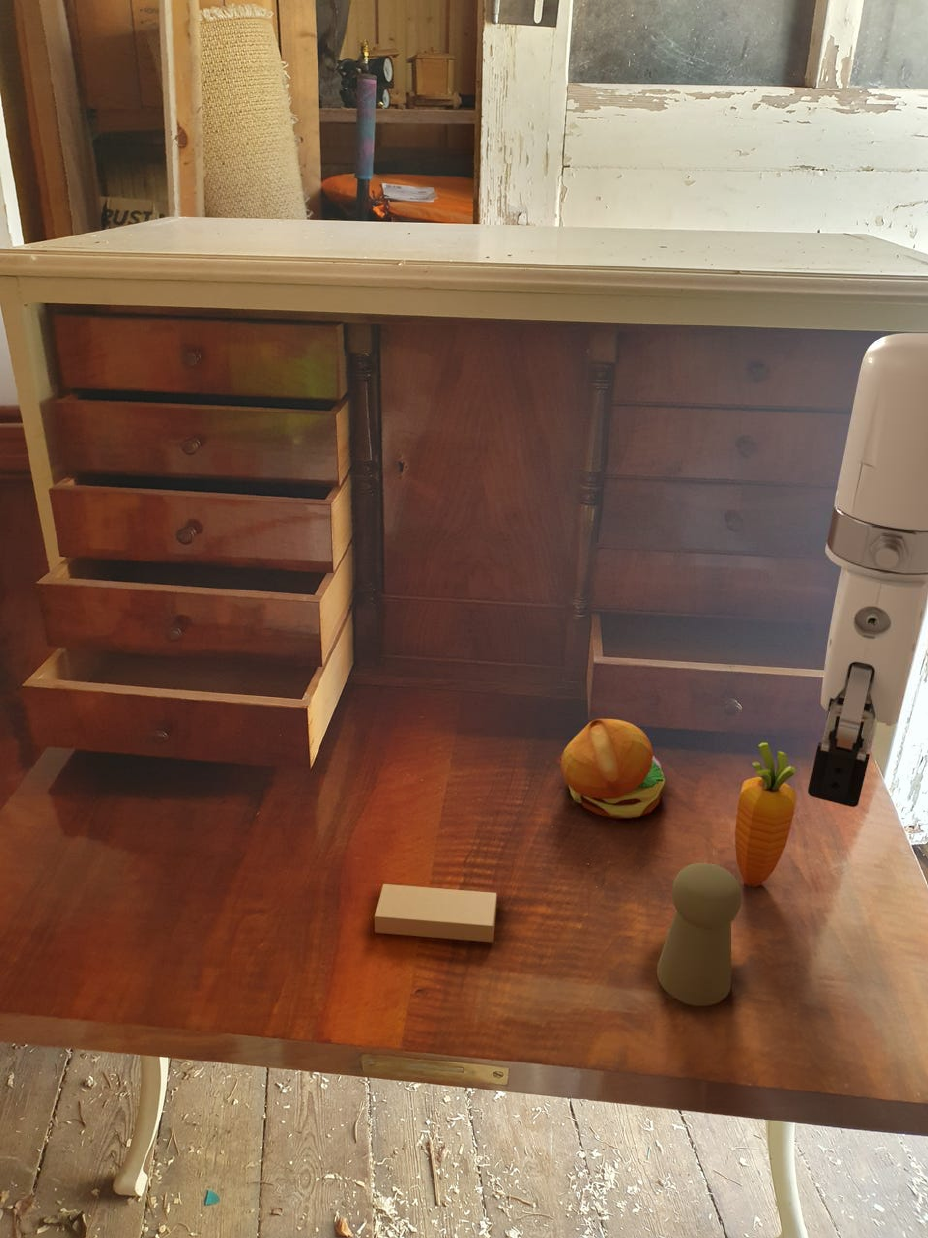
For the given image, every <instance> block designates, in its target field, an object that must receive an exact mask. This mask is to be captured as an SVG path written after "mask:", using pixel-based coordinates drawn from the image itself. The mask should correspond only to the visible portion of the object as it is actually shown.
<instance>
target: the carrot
mask: <svg viewBox="0 0 928 1238" xmlns="http://www.w3.org/2000/svg"><path fill="white" fill-rule="evenodd" d="M757 746H758V749H759V752H760V755H761V758H762V760H763V763H764V767H765V769H764V768H763V767H762V765H761V764H760V762H757V761H754V762H752V766H753V768H754V769H755V771H756V775H757V776H755V777H752V778H748V779H746V780H744V781H743V783H742V785H741V788H740V789H741V790H740V794H739V797H738V804H737V812H736V819H735V828H734V842H735V843H734V846H735V858H736V859H735V860H736V864H737V867H738V870H739V873H740V875H741V877H742V880H743V882H744V883H745V884H746V885H747V886H748V887H752V888H756V887H760V886H761V885H762V884H763V883H764V882H765V881H767V880H768V879H769V877H770V876H771V875H772V873H773V872H774V871H775V870H776V867H777V865H778V864H779V861H780V860H781V858H782V855H783V853H784V850H785V848H786V845H787V842H788V838H789V835H790V830H791V827H792V822H793V819H794V814H795V809H796V808H795V807H796V801H797V792H796V791H795V790H794V789H793V788H792V787H791V786H789V785H788V784H787V783H786V782H787V781H788V780H789V779H790V778H791V777H793V776H794V775H795V774H796V772H797V769H796V768H795V767H794V766H792V765H789V766H787V764H788V755H787V754H786V753H785V752H784V751H777V757H776V758H777V759H776V760H777V761H776V762H777V763H776V768H775V763H774V758H773V755H772V751H771V749H770V746H769V744H768V742H761V743H759V744H758V745H757ZM775 769H776V771H775Z"/></svg>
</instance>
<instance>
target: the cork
mask: <svg viewBox="0 0 928 1238" xmlns="http://www.w3.org/2000/svg"><path fill="white" fill-rule="evenodd" d="M742 896H743V894H742V889H741V886H740V884H739V882H738V880H737V878H736V877H735V876H734V875H733V874H732V873H731V872H730V871H729V870H728V869H726V868H725V867H722V866H720V865H718V864H716V863H715V864H714V863H710V862H694V863H691V864H689V865H687V866H685V867H683V868H682V869H681V870H680V871H679V872H678V873H677V875H676V876H675V877H674V879H673V884H672V889H671V898H672V902H673V906H674V908H675V911H674V914H673V917H672V920H671V922H670V926H669V929H668V932H667V936H666V939H665V941H664V945H663V948H662V951H661V954H660V958H659V960H658V963H657V969H656V975H657V979H658V982H659V984H660V985H661V987H662V988H663V990H664V991H665V992H666V993H667V994H669V995H670V996H671V997H672V998H674V999H676V1000H677V1001H680V1002H682V1003H684V1004H688V1005H692V1006H696V1007H697V1006H698V1007H700V1006H701V1007H702V1006H703V1007H705V1006H712V1005H715V1004H719V1003H720V1002H721V1001H723V1000H724V999H725V998H727V996H728V994H729V993H730V992H731V989H732V988H731V987H732V922H733V921H734V920H735V918H736V917H737V915H738V914H739V912H740V910H741V906H742V901H743V900H742V898H743V897H742Z"/></svg>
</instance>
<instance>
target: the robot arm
mask: <svg viewBox="0 0 928 1238" xmlns="http://www.w3.org/2000/svg"><path fill="white" fill-rule="evenodd" d="M842 456H843V457H842V462H841V467H840V472H839V477H838V481H837V489H836V492H835V498H834V503H833V508H832V513H831V518H830V523H829V527H828V534H827V538H826V543H825V544H826V545H825V548H824V549H825V550H824V551H825V552H824V553H825V555H826V556H827V558H828V559H829V560H830V561H831V562H832V563H834V564H835V565H837V566H839V567H840V573H839V579H838V583H837V584H838V585H837V589H836V593H835V600H834V604H833V611H832V614H831V620H830V626H829V632H828V638H827V645H826V653H825V660H824V667H823V674H822V675H823V677H822V683H821V684H822V685H821V694H820V705H821V707H822V709H824V711H825V712H827V716H826V717H827V718H826V724H825V728H824V733H823V737H822V741H821V742H820V741H818V743H817V745H816V746H817V747H816V750H815V751H816V752H815V756H814V760H813V765H812V769H811V774H810V780H809V783H808V784H809V785H808V790H807V793H808V795H809V796H810V797H811V798H815V799H816V798H817V799H820V800H824V801H827V802H830V803H831V802H832V803H835V804H838V805H842V806H846V807H850V808H856V807H857V806H858V805H859V804H860V803H859V802H860V798H861V795H862V791H863V786H864V783H865V779H866V778H865V777H866V774H867V770H868V766H869V761H870V757H871V753H868V749H869V743H870V739H871V735H872V731H873V726H874V723H875V720H876V721H877V723H882V724H885V725H886V726H887V727H892V726H894V725H895V724H897V723H898V722H899V718H900V715H901V709H902V706H903V701H904V696H905V692H906V688H907V683H908V679H909V675H910V671H911V668H912V663H913V660H914V655H915V652H916V647H917V644H918V639H919V637H920V636H919V635H920V632H921V626H922V622H923V618H924V613H925V610H926V609H925V608H926V605H927V598H928V332H903V333H895V334H890V335H885V336H882V337H881V338H879V339H876V341H874V342H873V343H872V344H871V345H870V346H869V347H868V348H867V350H866V352H865V354H864V356H863V359H862V362H861V366H860V370H859V374H858V379H857V385H856V390H855V395H854V399H853V405H852V409H851V415H850V419H849V426H848V430H847V435H846V441H845V447H844V452H843V455H842Z"/></svg>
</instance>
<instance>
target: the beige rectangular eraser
mask: <svg viewBox="0 0 928 1238" xmlns="http://www.w3.org/2000/svg"><path fill="white" fill-rule="evenodd" d="M380 890H381V891H380V894H379V898H378V902H377V906H376V910H375V913H374V932H375V933H376V934H389V935H398V936H399V935H400V936H410V937H411V936H412V937H422V938H423V937H425V938H434V939H447V940H448V939H449V940H458V941H471V942H473V941H474V942H482V943H494V933H495V925H496V915H497V902H498V901H497V896H498V894H497V892H490V891H479V890H478V891H477V890H467V889H466V890H465V889H455V888H454V889H451V888H439V887H426V886H416V885H415V886H414V885H404V884H403V885H401V884H390V883H383V884H382V887H381V889H380Z"/></svg>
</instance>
